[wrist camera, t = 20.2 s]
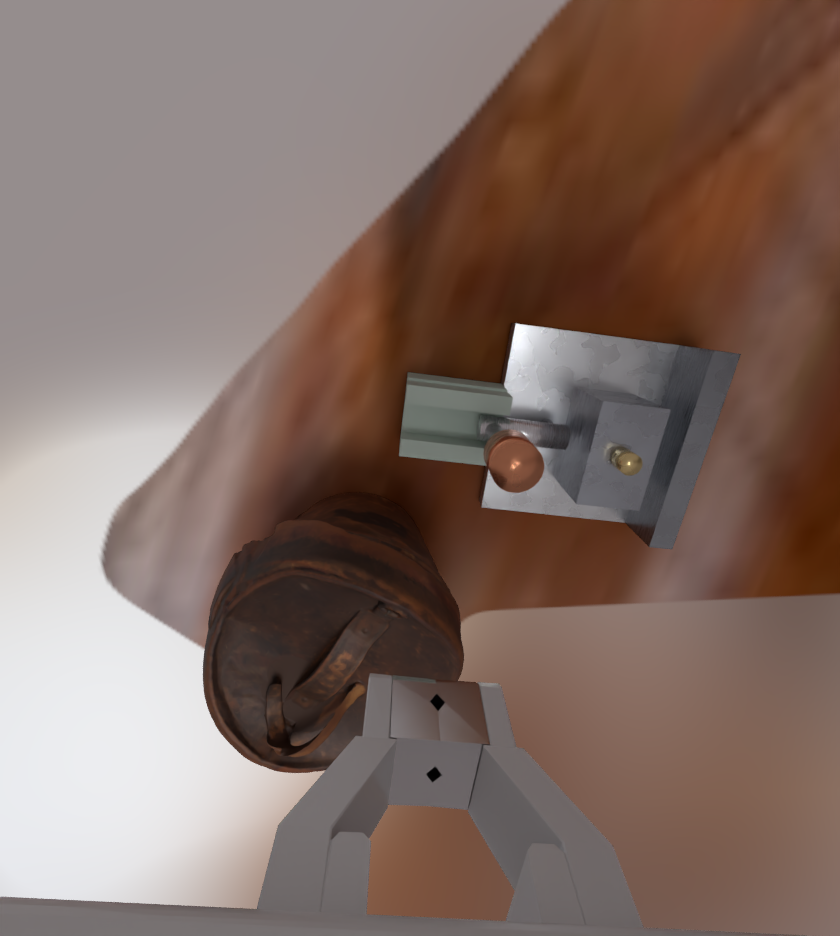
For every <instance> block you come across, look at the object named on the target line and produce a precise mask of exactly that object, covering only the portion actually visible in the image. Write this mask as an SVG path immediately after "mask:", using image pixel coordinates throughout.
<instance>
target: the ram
mask: <svg viewBox="0 0 840 936" xmlns="http://www.w3.org/2000/svg"><path fill="white" fill-rule="evenodd" d="M476 436H477V440H481V441H487V443H486V445H485V447H484V452H483V456H484V461H485V463H486V465H487V467H488V470H489V472H490V474H491V476H492V478H493V480H494V482H495V483H496V484H497V486H499V487H500V488H501V489H503V490H505V491H507V492H512V493H520V492H524V491H527V490H529V489H531V488H532V487H534V486H535V485H536V484H537V483H538V482H539V480H540V479H541V477H542V475H543V472H544V460H543V457H542V455H541V453H540V452H539V451H538V449H537V448H536V447H542V448H550V449H559V450H566V449H567V447H568V445H569V442H570V437H571V430H570V427H569V425H563V424H554V423H546V422H537V421H529V420H521V419H512V418H504V417H496V416H487V415H480V416H479V419H478V424H477V433H476Z"/></svg>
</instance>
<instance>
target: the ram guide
mask: <svg viewBox="0 0 840 936" xmlns="http://www.w3.org/2000/svg"><path fill="white" fill-rule="evenodd" d="M507 391H508V390H507V389H506V388H505V387H504V386H503V385H502V384H500V383H491V382H483V381H475V380H467V379H459V378H451V377H443V376H435V375H427V374H419V373H411V372H408V375H407V384H406V392H405V401H404V410H403V418H402V427H401V436H400V447H399V456H404V457H413V458H421V459H430V460H439V461H448V462H457V463H466V464H475V465H484V466H487V465H486V463H485V461H484V456H483V452H484V447H485V445H486V443H487V441H481V440H477V436H476V433H477V424H478V419H479V416H480V415H487V416H496V417H503V415H508V416H510V411H511V406H512V400H513V397H512V396H511V395H510V394H509V393H507Z"/></svg>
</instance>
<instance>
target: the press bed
mask: <svg viewBox="0 0 840 936" xmlns="http://www.w3.org/2000/svg"><path fill="white" fill-rule="evenodd" d="M740 355H741V354H736V353H730V352H723V351H716V350H710V349H704V348H697V347H689V346H682V345H674V344H667V343H659V342H652V341H644V340H637V339H629V338H621V337H614V336H606V335H599V334H591V333H584V332H576V331H569V330H561V329H554V328H546V327H539V326H531V325H524V324H516V323H512V324H511V330H510V335H509V340H508V346H507V351H506V357H505V362H504V368H503V373H502V379H501V384H502V385H503V386H504V387H505V388H506V389H507V390H508V391H507V393H509V394H510V395H511V396H512V397H513V400H512V406H511V411H510V416H508V415H503V417H504V418H512V419H521V420H529V421H537V422H546V423H554V424H563V425H565V424H566V419H567V415H568V411H569V407H570V403H571V398H572V394H573V390H574V387H581V388H589V389H597V390H605V391H613V392H621V393H629V394H634V395H636V396H639V397H641V398H644V399H646V400H649V401H651V402H654V403H656V404H659V405H661V406H664V407H666V408H669V409H671V411H670V414H669V418H668V421H667V424H666V427H665V430H664V434H663V437H662V440H661V443H660V446H659V450H658V453H657V456H656V459H655V462H654V465H653V469H652V472H651V475H650V478H649V481H648V485H647V488H646V491H645V494H644V497H643V501H642V504H641V507H640V510H639V511H635V510H625V509H616V508H607V507H598V506H588V505H579V504H576V503H575V502H574V501H573V500H572V499H571V497H570V496H569V495H568V494H567V493H566V491H565V490H564V489H563V488H562V487H561V485H560V484H559V483H558V482H557V481H556V479H555V478H554V477H553V474H554V470H555V466H556V462H557V457H558V453H559V449H550V448H542V447H536V448H537V449H538V451H539V452H540V453H541V455H542V457H543V460H544V472H543V475H542V477H541V479H540V480H539V482H538V483H537V484H536V485H535V486H534V487H532V488H531V489H529V490H527V491H524V492H520V493H512V492H507V491H505V490H503V489H501V488H500V487H499V486H497V484H496V483H495V482H494V480H493V478H492V476H491V474H490V472H489V470H488V467H487V466H485V471H484V476H483V482H482V487H481V493H480V498H479V502H480V505H481V507H483V508H492V509H502V510H511V511H521V512H530V513H539V514H549V515H558V516H567V517H577V518H586V519H596V520H605V521H614V522H624V523H626V524H627V525H628V526H629V527H630V528H631V529H632V530H633V531H634V532H635V533H636V534H637V535H638V536H639V537H640V538H641V539H642V540H643V541H644V542H645V543H646V544H647V545H648V546H649V547H654V548H664V549H672V548H673V546H674V543H675V540H676V537H677V534H678V531H679V528H680V526H681V523H682V520H683V517H684V514H685V511H686V509H687V506H688V503H689V500H690V497H691V494H692V491H693V489H694V486H695V483H696V480H697V477H698V474H699V472H700V469H701V466H702V463H703V460H704V457H705V454H706V452H707V449H708V446H709V443H710V440H711V437H712V434H713V432H714V429H715V426H716V423H717V420H718V417H719V415H720V412H721V409H722V406H723V403H724V400H725V397H726V395H727V392H728V389H729V386H730V383H731V380H732V378H733V375H734V372H735V369H736V366H737V363H738V360H739V358H740Z"/></svg>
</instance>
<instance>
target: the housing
mask: <svg viewBox="0 0 840 936" xmlns="http://www.w3.org/2000/svg"><path fill="white" fill-rule="evenodd" d="M670 411H671V409H669V408H666V407H664V406H661V405H659V404H656V403H654V402H651V401H649V400H646V399H644V398H641V397H639V396H636V395H634V394H629V393H621V392H613V391H605V390H597V389H589V388H581V387H574V390H573V394H572V398H571V403H570V407H569V411H568V415H567V419H566V424H565V425H569V427H570V430H571V437H570V442H569V445H568V447H567V449H566V450H559V453H558V457H557V462H556V466H555V470H554V474H553V477H554V478H555V479H556V481H557V482H558V483H559V484H560V485H561V487H562V488H563V489H564V490H565V491H566V493H567V494H568V495H569V496H570V497H571V499H572V500H573V501H574V502H575V503H576V504H579V505H588V506H598V507H607V508H616V509H625V510H635V511H639V510H640V507H641V504H642V501H643V497H644V494H645V491H646V488H647V485H648V481H649V478H650V475H651V472H652V469H653V465H654V462H655V459H656V456H657V453H658V450H659V446H660V443H661V440H662V437H663V434H664V430H665V427H666V424H667V421H668V418H669V414H670Z"/></svg>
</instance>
